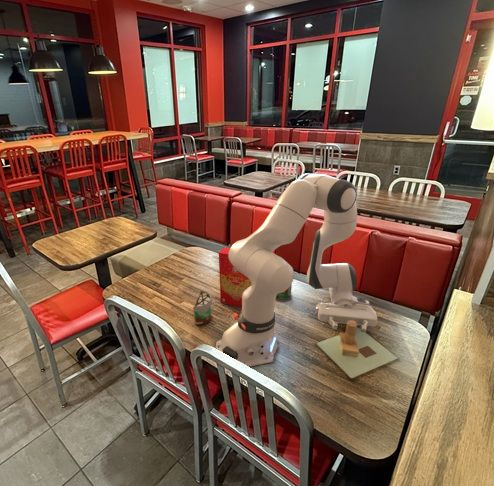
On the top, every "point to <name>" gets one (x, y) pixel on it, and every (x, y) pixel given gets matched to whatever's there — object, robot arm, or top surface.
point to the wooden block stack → (349, 340)
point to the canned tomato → (284, 295)
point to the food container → (203, 308)
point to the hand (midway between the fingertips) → (349, 329)
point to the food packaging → (231, 280)
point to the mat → (367, 358)
